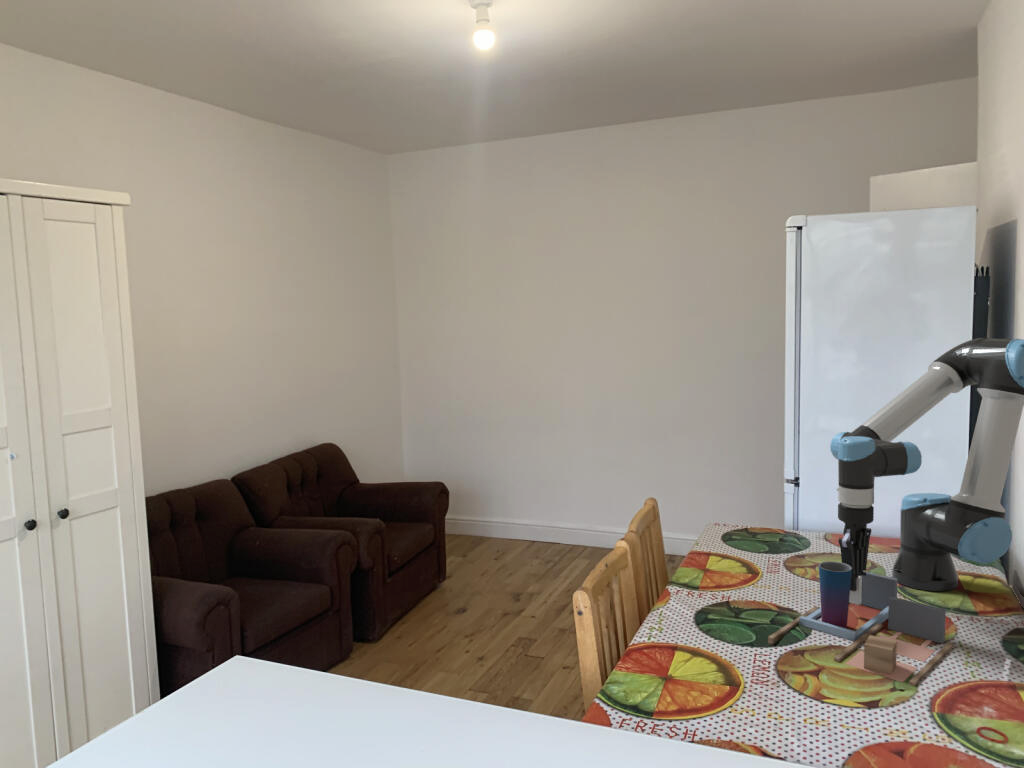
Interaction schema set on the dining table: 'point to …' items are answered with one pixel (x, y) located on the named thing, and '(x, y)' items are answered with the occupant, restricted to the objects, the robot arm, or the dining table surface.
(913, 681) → the lane guides
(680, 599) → the dining table surface
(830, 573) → the cup
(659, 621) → the dining table surface
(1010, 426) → the robot arm
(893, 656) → the walnut cube
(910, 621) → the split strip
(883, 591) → the frame
